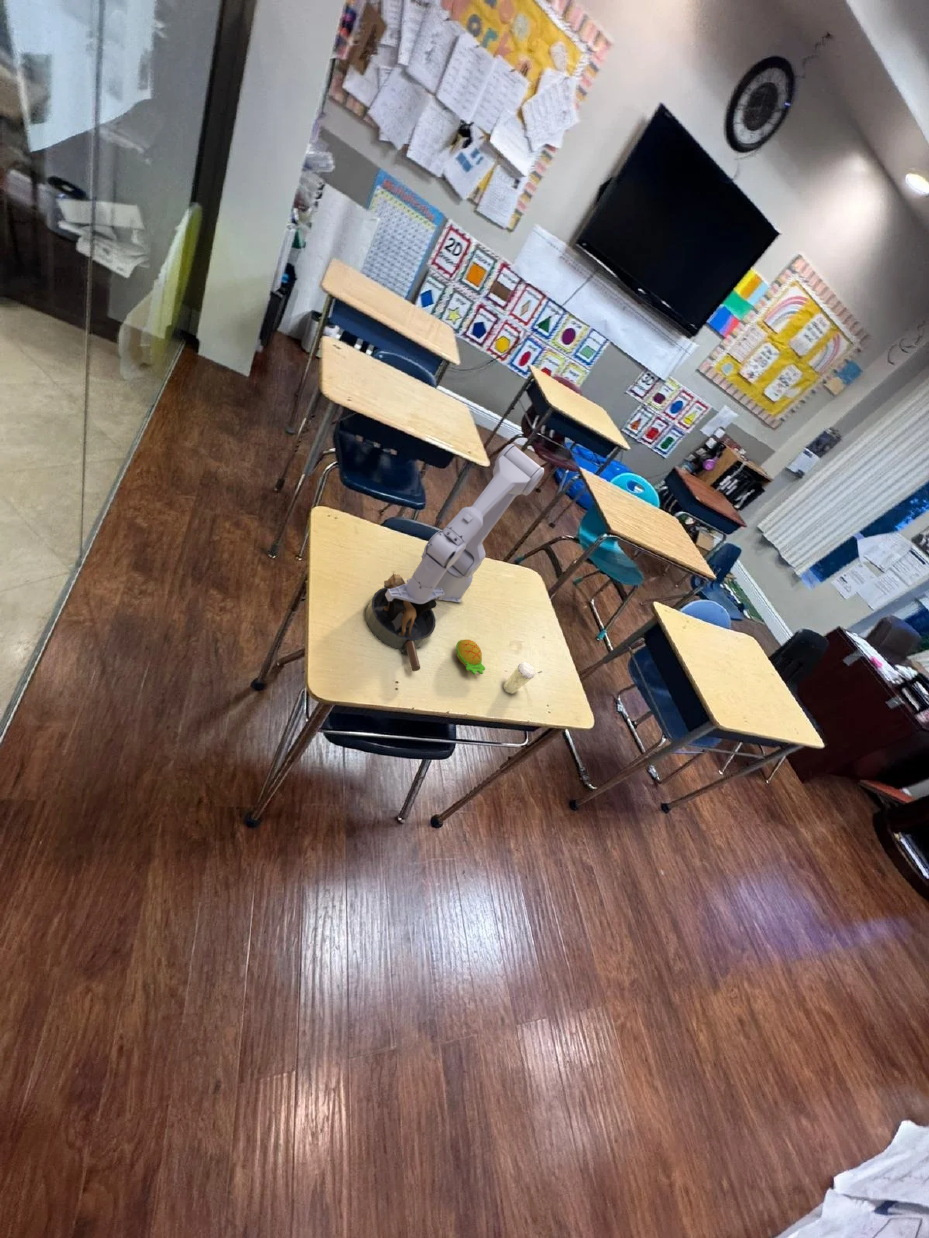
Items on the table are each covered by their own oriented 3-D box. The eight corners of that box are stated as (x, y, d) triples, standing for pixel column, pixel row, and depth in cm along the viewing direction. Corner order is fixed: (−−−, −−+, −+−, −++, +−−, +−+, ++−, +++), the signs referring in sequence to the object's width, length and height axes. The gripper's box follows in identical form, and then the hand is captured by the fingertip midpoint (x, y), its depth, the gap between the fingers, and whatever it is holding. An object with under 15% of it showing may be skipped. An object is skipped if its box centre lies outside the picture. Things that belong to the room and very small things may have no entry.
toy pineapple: (469, 646, 130) (479, 633, 127) (484, 679, 125) (495, 667, 122) (446, 646, 126) (456, 633, 123) (461, 681, 121) (472, 668, 118)
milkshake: (518, 700, 126) (541, 678, 120) (499, 691, 125) (522, 668, 119) (520, 687, 130) (542, 664, 123) (502, 677, 129) (523, 654, 122)
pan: (420, 601, 132) (427, 591, 130) (435, 652, 123) (442, 642, 120) (361, 593, 124) (366, 581, 121) (371, 647, 114) (377, 636, 112)
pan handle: (400, 649, 118) (407, 639, 116) (408, 650, 119) (415, 639, 117) (406, 676, 114) (413, 665, 111) (414, 676, 115) (421, 666, 113)
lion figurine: (370, 597, 123) (385, 571, 118) (386, 594, 127) (402, 569, 122) (403, 644, 119) (421, 620, 113) (419, 639, 123) (437, 615, 117)
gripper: (444, 565, 120) (420, 602, 128) (390, 564, 111) (368, 605, 119) (457, 588, 117) (431, 625, 125) (402, 589, 107) (379, 629, 116)
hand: (401, 617), depth 122 cm, fingers open, 6 cm apart
